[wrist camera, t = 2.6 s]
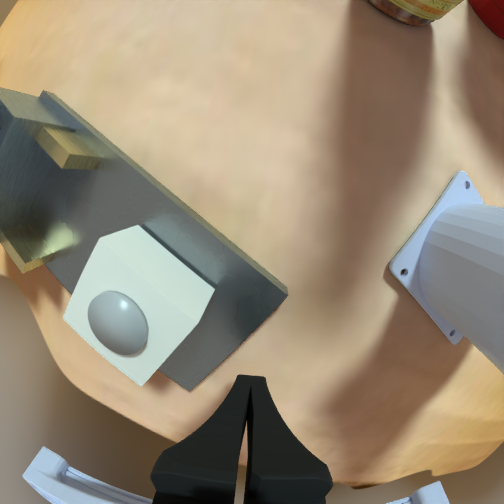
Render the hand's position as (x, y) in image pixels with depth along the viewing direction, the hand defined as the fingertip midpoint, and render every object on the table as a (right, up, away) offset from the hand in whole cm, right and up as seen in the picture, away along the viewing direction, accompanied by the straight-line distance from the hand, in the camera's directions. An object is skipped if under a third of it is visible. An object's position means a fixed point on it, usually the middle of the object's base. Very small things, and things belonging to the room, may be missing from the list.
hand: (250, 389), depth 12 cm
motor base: (-9, +9, +2) cm, 13 cm away
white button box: (-5, +5, +1) cm, 7 cm away
